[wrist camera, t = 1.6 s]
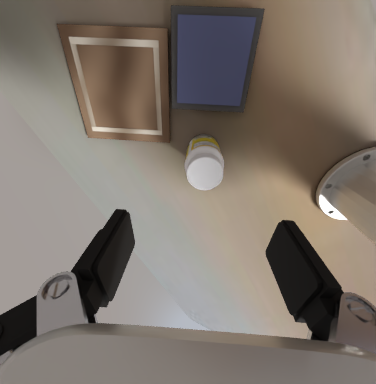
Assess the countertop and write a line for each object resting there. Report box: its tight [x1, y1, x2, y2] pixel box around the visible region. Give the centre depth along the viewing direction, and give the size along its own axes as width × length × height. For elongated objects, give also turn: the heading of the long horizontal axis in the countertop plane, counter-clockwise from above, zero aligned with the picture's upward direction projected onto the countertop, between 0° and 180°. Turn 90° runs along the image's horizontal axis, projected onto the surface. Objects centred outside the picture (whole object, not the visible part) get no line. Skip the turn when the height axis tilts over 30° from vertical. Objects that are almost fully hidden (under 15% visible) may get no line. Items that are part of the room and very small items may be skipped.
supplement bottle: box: [184, 135, 224, 190], centre depth 21 cm, size 5×5×8 cm
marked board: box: [57, 24, 170, 143], centre depth 21 cm, size 12×12×1 cm
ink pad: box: [171, 5, 264, 112], centre depth 19 cm, size 9×9×2 cm
